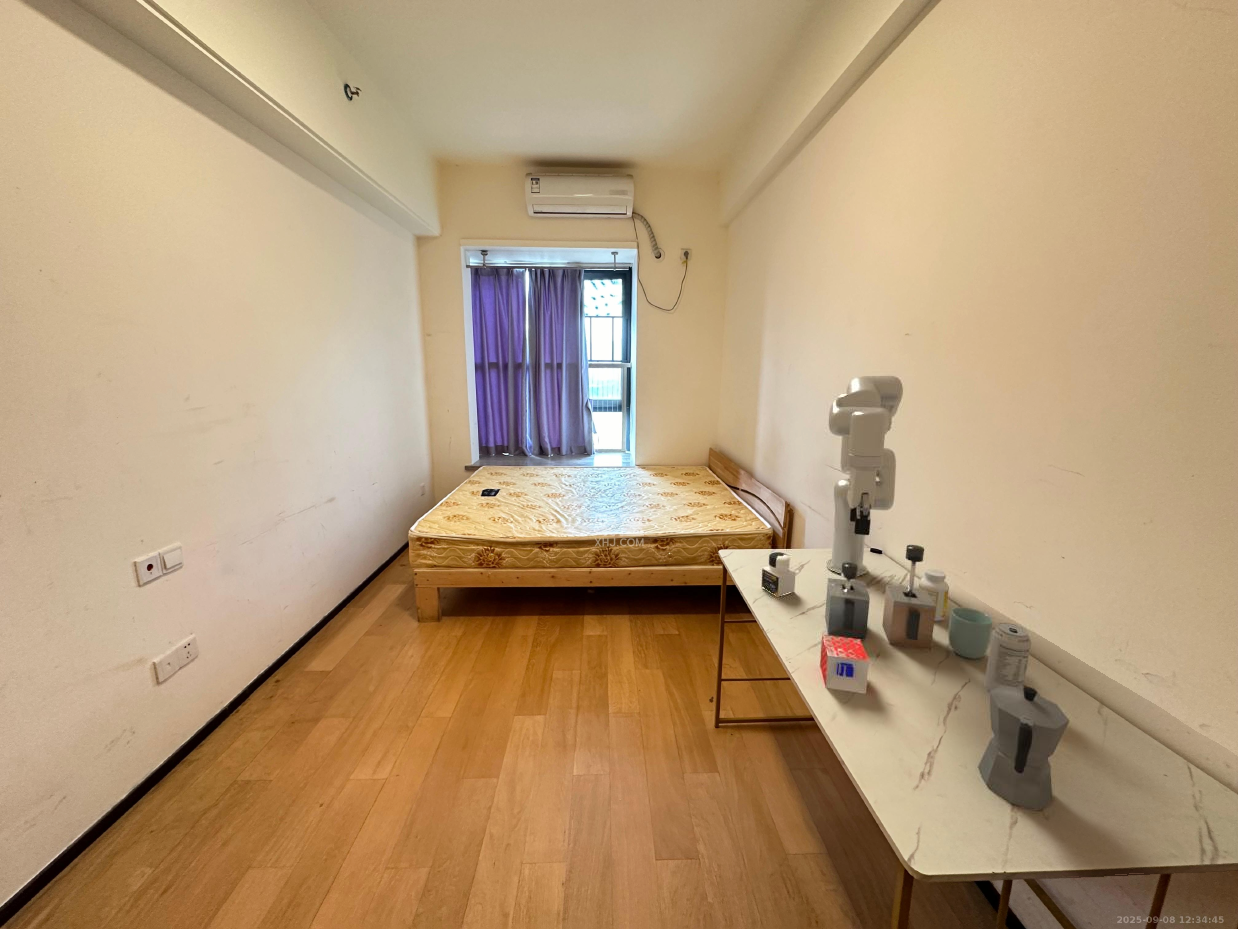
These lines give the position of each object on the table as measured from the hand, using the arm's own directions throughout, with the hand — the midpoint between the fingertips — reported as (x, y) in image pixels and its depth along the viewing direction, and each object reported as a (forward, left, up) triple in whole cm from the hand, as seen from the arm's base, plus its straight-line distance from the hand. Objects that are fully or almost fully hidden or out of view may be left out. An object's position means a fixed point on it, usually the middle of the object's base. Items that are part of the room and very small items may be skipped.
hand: (859, 527), depth 113 cm
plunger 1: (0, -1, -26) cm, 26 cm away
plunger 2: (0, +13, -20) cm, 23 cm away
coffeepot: (+43, +19, -28) cm, 55 cm away
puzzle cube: (+22, -4, -29) cm, 36 cm away
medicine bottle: (-17, -18, -28) cm, 38 cm away
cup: (+3, +25, -28) cm, 38 cm away
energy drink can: (+17, +27, -28) cm, 43 cm away
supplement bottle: (-14, +22, -28) cm, 38 cm away
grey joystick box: (0, -1, -28) cm, 28 cm away
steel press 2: (0, +13, -28) cm, 31 cm away
